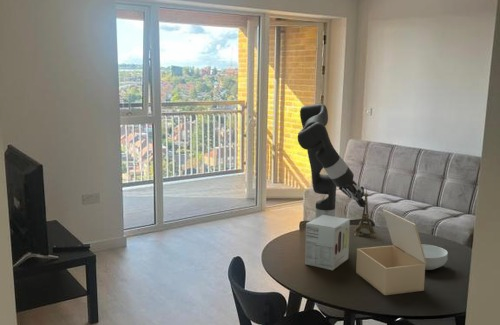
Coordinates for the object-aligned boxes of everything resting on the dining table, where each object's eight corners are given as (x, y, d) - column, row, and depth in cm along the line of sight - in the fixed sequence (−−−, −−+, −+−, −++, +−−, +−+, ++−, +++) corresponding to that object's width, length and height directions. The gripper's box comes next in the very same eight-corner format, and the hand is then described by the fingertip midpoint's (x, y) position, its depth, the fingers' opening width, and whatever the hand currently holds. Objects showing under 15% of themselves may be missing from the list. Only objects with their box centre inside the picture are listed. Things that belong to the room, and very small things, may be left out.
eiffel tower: (375, 237, 237) (377, 188, 234) (353, 236, 240) (355, 187, 236) (375, 231, 248) (377, 184, 244) (354, 230, 250) (355, 183, 246)
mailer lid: (414, 224, 170) (415, 224, 170) (382, 209, 191) (383, 209, 191) (425, 263, 173) (426, 263, 174) (392, 244, 195) (393, 244, 195)
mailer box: (384, 295, 171) (385, 268, 170) (356, 272, 192) (357, 248, 191) (423, 290, 175) (425, 264, 174) (391, 268, 196) (392, 245, 195)
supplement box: (333, 271, 194) (335, 228, 191) (304, 264, 201) (305, 223, 198) (349, 258, 208) (350, 218, 205) (321, 252, 215) (322, 214, 212)
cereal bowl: (413, 256, 210) (414, 241, 209) (452, 265, 200) (453, 249, 199) (397, 267, 197) (398, 251, 196) (438, 277, 187) (440, 260, 186)
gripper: (321, 176, 176) (346, 210, 181) (342, 179, 164) (368, 215, 169) (334, 163, 178) (358, 196, 183) (356, 165, 166) (381, 200, 171)
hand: (363, 205), depth 176 cm, fingers closed
